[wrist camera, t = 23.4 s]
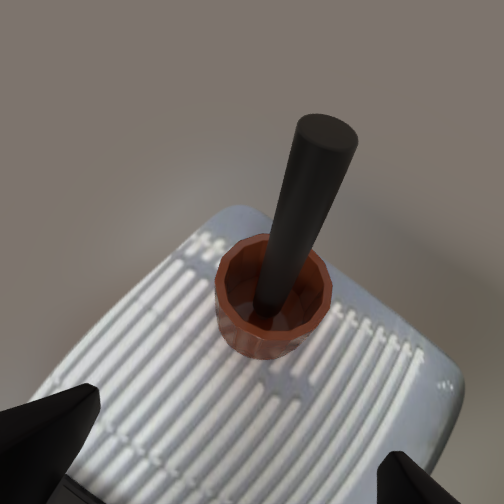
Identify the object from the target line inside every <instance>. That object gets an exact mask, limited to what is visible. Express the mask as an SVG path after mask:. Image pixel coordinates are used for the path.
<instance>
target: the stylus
mask: <svg viewBox="0 0 504 504" xmlns="http://www.w3.org/2000/svg"><path fill="white" fill-rule="evenodd" d="M357 146H358V136H357V134H356V132H355V131H354V130H353V129H352V128H351V127H350V126H349V125H348V124H346V123H345V122H343V121H341V120H339V119H337V118H335V117H332V116H329V115H324V114H308V115H305V116H303V117H302V118H301V119H300V120H299V121H298V123H297V126H296V130H295V134H294V139H293V142H292V147H291V151H290V155H289V159H288V163H287V168H286V171H285V175H284V179H283V184H282V188H281V192H280V196H279V200H278V204H277V208H276V212H275V216H274V220H273V224H272V228H271V232H270V236H269V240H268V244H267V248H266V252H265V256H264V259H263V263H262V267H261V271H260V275H259V279H258V283H257V287H256V291H255V295H254V298H253V308H254V310H255V312H256V313H257V316H258V317H259V318H260V319H263V320H266V319H269V318H271V317H274V316H276V315H277V314H278V313H279V312H280V311H281V309H282V307H283V305H284V303H285V301H286V299H287V297H288V295H289V293H290V291H291V289H292V287H293V285H294V283H295V281H296V279H297V277H298V275H299V273H300V271H301V269H302V267H303V265H304V263H305V261H306V259H307V257H308V255H309V253H310V250H311V248H312V246H313V244H314V242H315V240H316V238H317V236H318V233H319V232H320V229H321V227H322V225H323V223H324V220H325V219H326V216H327V214H328V212H329V210H330V208H331V206H332V203H333V201H334V199H335V196H336V194H337V192H338V190H339V187H340V185H341V183H342V181H343V179H344V176H345V174H346V172H347V169H348V167H349V165H350V162H351V160H352V157H353V155H354V153H355V151H356V148H357Z"/></svg>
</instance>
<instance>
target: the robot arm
mask: <svg viewBox="0 0 504 504" xmlns="http://www.w3.org/2000/svg"><path fill="white" fill-rule="evenodd" d="M100 409H101V404H100V394H99V389H98V388H97V387H95V386H93V385H91V384H89V383H84V384H81V385H79V386H76V387H73V388H70V389H67V390H65V391H62V392H59V393H56V394H53V395H50V396H47V397H44V398H41V399H38V400H35V401H32V402H29V403H26V404H23V405H20V406H17V407H14V408H10V409H7V410H4V411H1V412H0V504H46V503H47V501H48V500H49V498H50V497H51V495H52V493H53V492H54V490H55V489H56V487H57V486H58V484H59V483H60V481H61V479H62V478H63V476H64V475H65V473H66V472H67V470H68V469H69V467H70V466H71V464H72V463H73V461H74V460H75V458H76V456H77V455H78V453H79V452H80V450H81V449H82V447H83V445H84V443H85V441H86V439H87V437H88V435H89V433H90V431H91V428H92V426H93V424H94V422H95V420H96V418H97V416H98V414H99V412H100ZM377 504H461V503H460V502H458V501H457V500H456V499H455V498H454V497H453V496H451V495H450V494H449V493H448V492H447V491H446V490H445V489H444V488H442V487H441V486H440V485H439V484H438V483H437V482H436V481H435V480H434V479H433V478H431V477H430V476H429V475H428V474H427V473H426V472H425V471H424V470H423V469H422V468H420V467H419V466H418V465H417V464H416V463H415V462H414V461H413V460H412V459H411V458H410V457H409V456H407V455H406V454H405V453H404V452H403V451H391V452H390V453H389V454H388V455H387V456H386V458H385V459H384V460H383V461H382V463H381V464H380V465H379V467H378V469H377Z"/></svg>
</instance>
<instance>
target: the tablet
mask: <svg viewBox="0 0 504 504" xmlns="http://www.w3.org/2000/svg"><path fill="white" fill-rule="evenodd" d="M46 504H106V503H104V502H103V501H101V500H100V499H98V498H97V497H96V496H94V495H93V494H91V493H90V492H89V491H87V490H86V489H85V488H83V487H82V486H81V485H79V484H78V483H77V482H75V481H74V480H73V479H72V478H70V477H69V476H68V475H67V474H65V475H64V476H63V478H62V479H61V481H60V483H59V484H58V486H57V487H56V489H55V490H54V492H53V493H52V495H51V497H50V498H49V500H48V501H47V503H46Z"/></svg>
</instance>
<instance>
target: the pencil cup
mask: <svg viewBox="0 0 504 504" xmlns="http://www.w3.org/2000/svg"><path fill="white" fill-rule="evenodd" d="M269 236H270V234H263V233H262V234H258V235H255V236H252V237H250V238H247V239H244V240H241V241H239V242H237V243H236V244H235V245H234V246H233V247H232V248H231V249H230V250H229V251H228V252H227V253H226V254H225V255H224V256H223V257H222V258H221V261H220V264H219V267H218V271H217V274H216V277H215V310H216V316H217V323H218V327H219V330H220V332H221V334H222V336H223V338H224V339H225V341H226V342H227V343H228V344H229V345H230V346H231V347H232V348H233V349H234V350H236V351H237V352H239V353H240V354H242V355H244V356H247V357H249V358H253V359H259V360H270V359H276V358H279V357H282V356H284V355H286V354H288V353H290V352H291V351H293V350H295V349H296V348H297V347H298V346H299V345H300V344H301V343H302V342H303V341H304V340H305V339H306V338H307V337H308V336H309V335H310V334H311V333H312V332H313V331H314V330H315V329H316V327H317V326H318V325H319V323H320V322H321V321H322V319H323V318H324V316H325V315H326V313H327V312H328V311H329V309H330V304H331V296H332V287H333V285H332V281H331V279H330V276H329V273H328V271H327V268H326V265H325V263H324V261H323V260H322V259H321V258H320V257H319V256H318V255H317V254H316V253H315V252H314V251H313V250H312V249H311V250H310V253H309V255H308V257H307V259H306V261H305V263H304V265H303V267H302V269H301V271H300V273H299V275H298V277H297V279H296V281H295V283H294V285H293V287H292V289H291V291H290V293H289V295H288V297H287V299H286V301H285V303H284V305H283V307H282V309H281V311H280V312H279V313H278V314H277V315H276V316H274V317H271V318H269V319H266V320H263V319H260V318H259V317H258V316H257V313H256V312H255V310H254V308H253V298H254V295H255V291H256V287H257V283H258V279H259V275H260V271H261V267H262V263H263V259H264V256H265V252H266V248H267V244H268V240H269Z"/></svg>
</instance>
